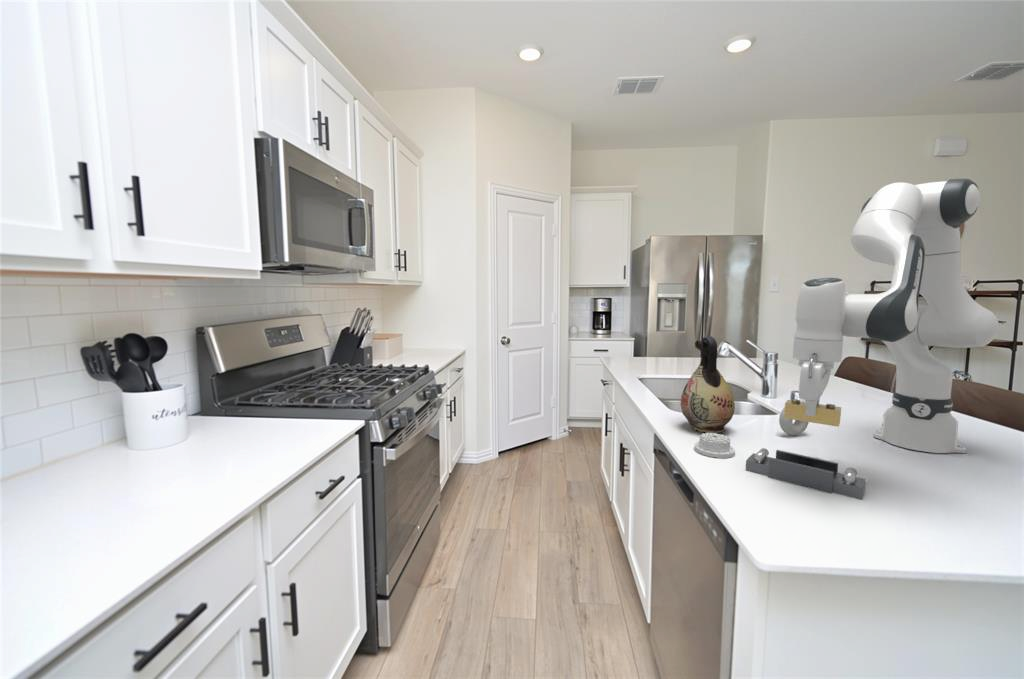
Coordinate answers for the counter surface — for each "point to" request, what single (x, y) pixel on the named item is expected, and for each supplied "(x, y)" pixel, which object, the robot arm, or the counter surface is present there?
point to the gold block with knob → (823, 415)
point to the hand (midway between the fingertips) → (811, 412)
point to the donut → (792, 425)
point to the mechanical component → (714, 446)
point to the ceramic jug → (707, 393)
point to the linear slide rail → (807, 472)
